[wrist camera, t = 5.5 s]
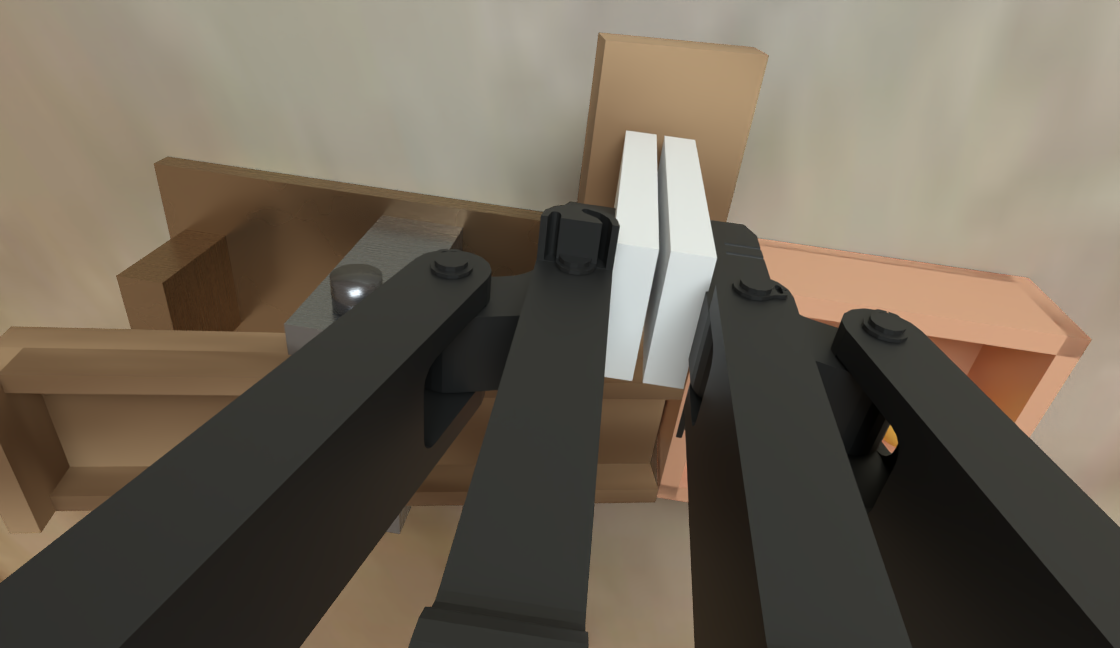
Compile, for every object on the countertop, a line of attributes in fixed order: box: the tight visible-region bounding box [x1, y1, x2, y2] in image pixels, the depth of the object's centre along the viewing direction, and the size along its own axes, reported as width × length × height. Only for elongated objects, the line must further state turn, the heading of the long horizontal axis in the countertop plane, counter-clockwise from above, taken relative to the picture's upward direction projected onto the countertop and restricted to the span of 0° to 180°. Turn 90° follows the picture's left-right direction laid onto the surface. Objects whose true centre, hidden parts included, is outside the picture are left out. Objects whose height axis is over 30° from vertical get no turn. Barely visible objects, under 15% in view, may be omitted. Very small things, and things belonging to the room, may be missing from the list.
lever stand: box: [116, 157, 543, 534], centre depth 23 cm, size 10×20×8 cm, turn 84°
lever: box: [0, 33, 769, 533], centre depth 18 cm, size 14×20×3 cm
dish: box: [657, 238, 1092, 502], centre depth 25 cm, size 9×11×4 cm
